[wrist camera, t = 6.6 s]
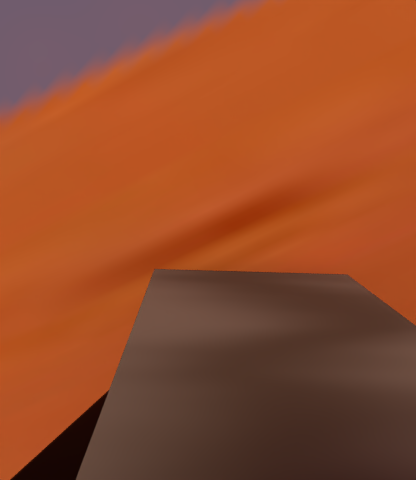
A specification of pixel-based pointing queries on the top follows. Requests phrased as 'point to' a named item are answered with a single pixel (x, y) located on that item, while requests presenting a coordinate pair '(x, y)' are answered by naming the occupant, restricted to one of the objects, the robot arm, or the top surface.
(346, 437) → the walnut block
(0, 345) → the top surface
